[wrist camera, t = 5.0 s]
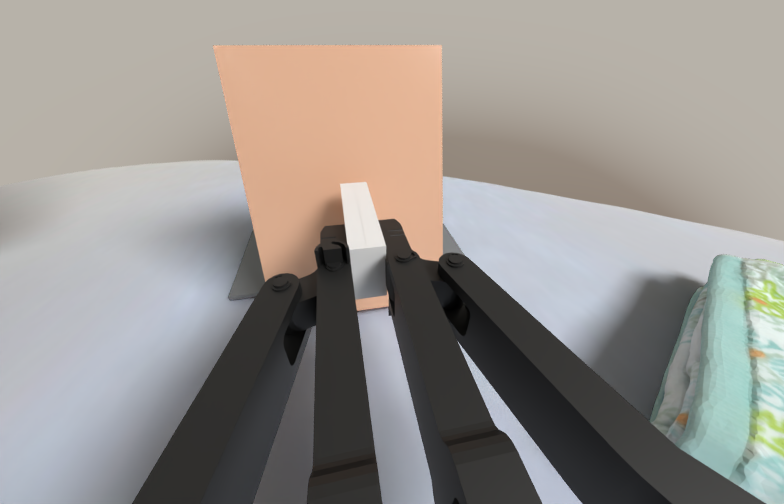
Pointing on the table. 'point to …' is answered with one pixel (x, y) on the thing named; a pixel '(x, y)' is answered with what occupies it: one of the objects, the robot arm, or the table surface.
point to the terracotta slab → (335, 142)
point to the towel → (731, 377)
